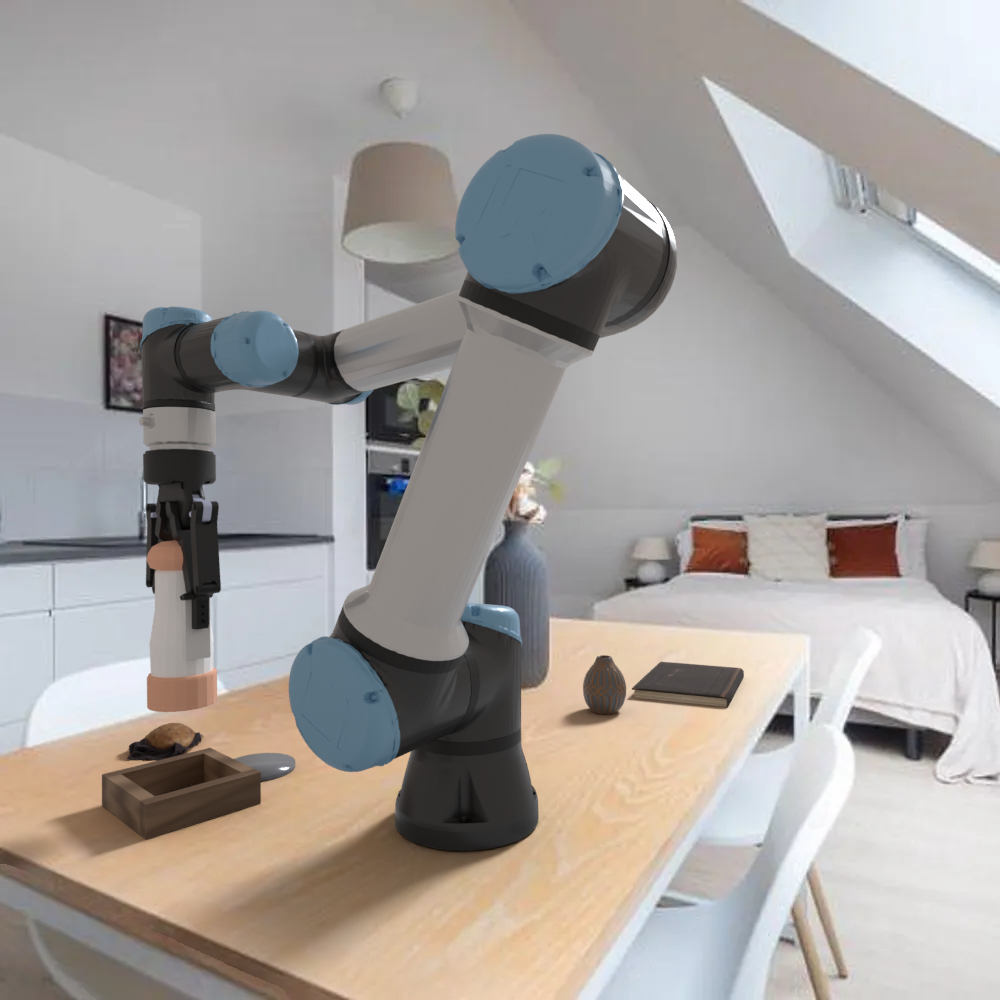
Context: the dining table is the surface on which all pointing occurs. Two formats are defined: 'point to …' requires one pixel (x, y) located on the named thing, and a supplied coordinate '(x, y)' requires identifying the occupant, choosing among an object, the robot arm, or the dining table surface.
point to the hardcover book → (690, 684)
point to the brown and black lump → (165, 743)
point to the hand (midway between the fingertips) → (182, 654)
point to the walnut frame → (180, 791)
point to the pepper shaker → (174, 642)
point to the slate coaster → (269, 764)
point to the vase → (604, 686)
